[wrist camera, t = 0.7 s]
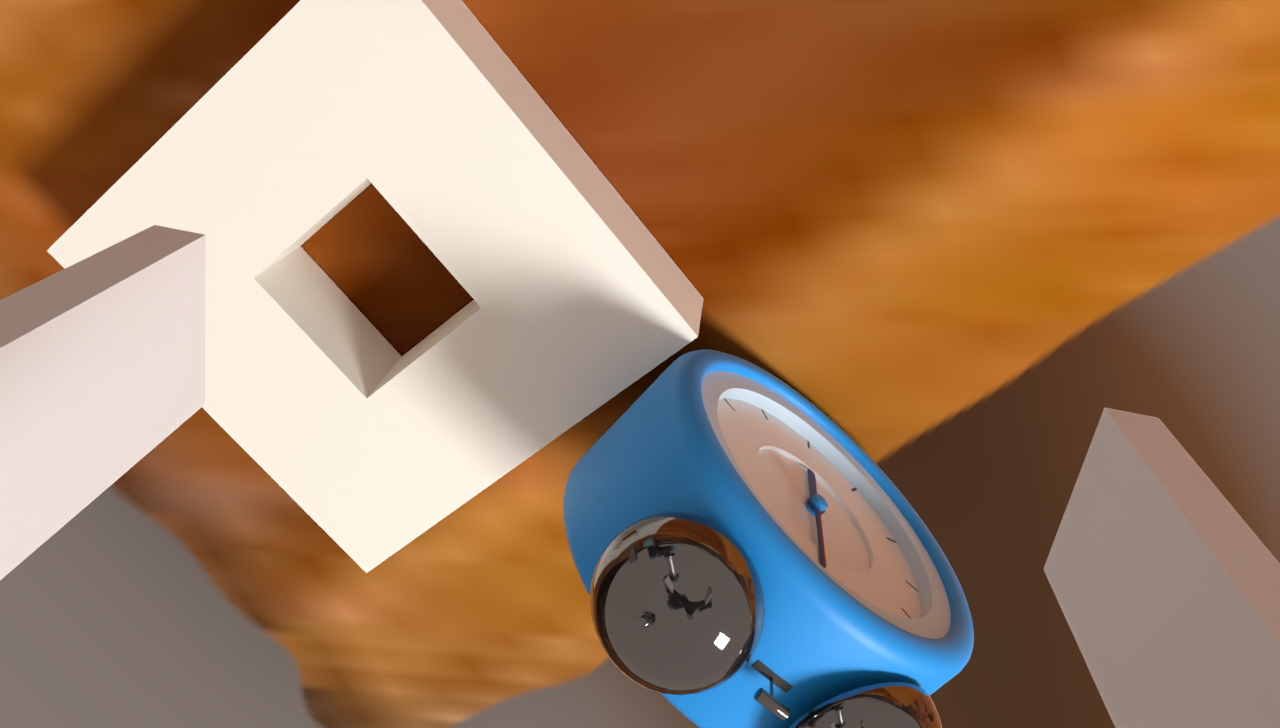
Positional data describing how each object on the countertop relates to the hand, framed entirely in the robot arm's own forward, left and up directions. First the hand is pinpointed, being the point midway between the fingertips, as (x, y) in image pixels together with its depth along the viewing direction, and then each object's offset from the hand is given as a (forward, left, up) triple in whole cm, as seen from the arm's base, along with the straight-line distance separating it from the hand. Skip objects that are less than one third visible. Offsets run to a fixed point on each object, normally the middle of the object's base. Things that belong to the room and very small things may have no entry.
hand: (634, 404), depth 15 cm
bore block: (-3, -12, -23) cm, 26 cm away
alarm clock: (+11, -6, -23) cm, 26 cm away
